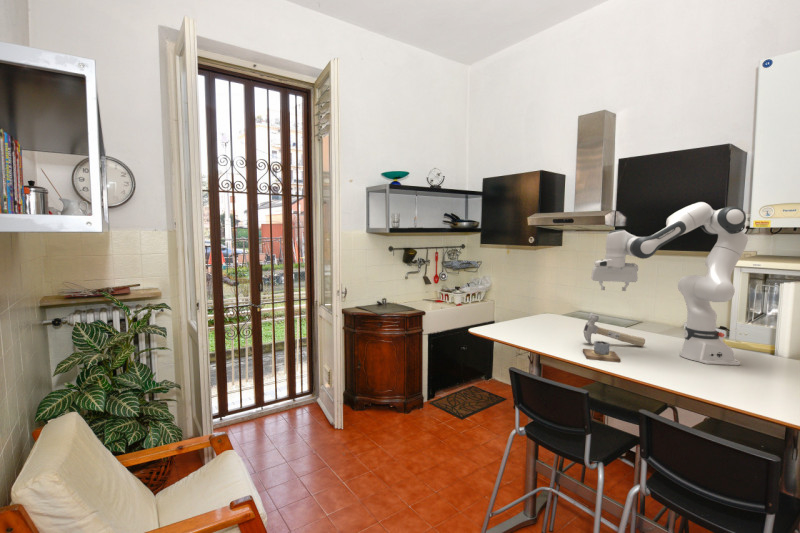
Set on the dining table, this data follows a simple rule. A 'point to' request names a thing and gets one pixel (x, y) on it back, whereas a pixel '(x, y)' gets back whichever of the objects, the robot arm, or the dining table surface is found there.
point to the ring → (601, 348)
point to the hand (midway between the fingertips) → (613, 290)
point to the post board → (591, 355)
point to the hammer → (609, 332)
